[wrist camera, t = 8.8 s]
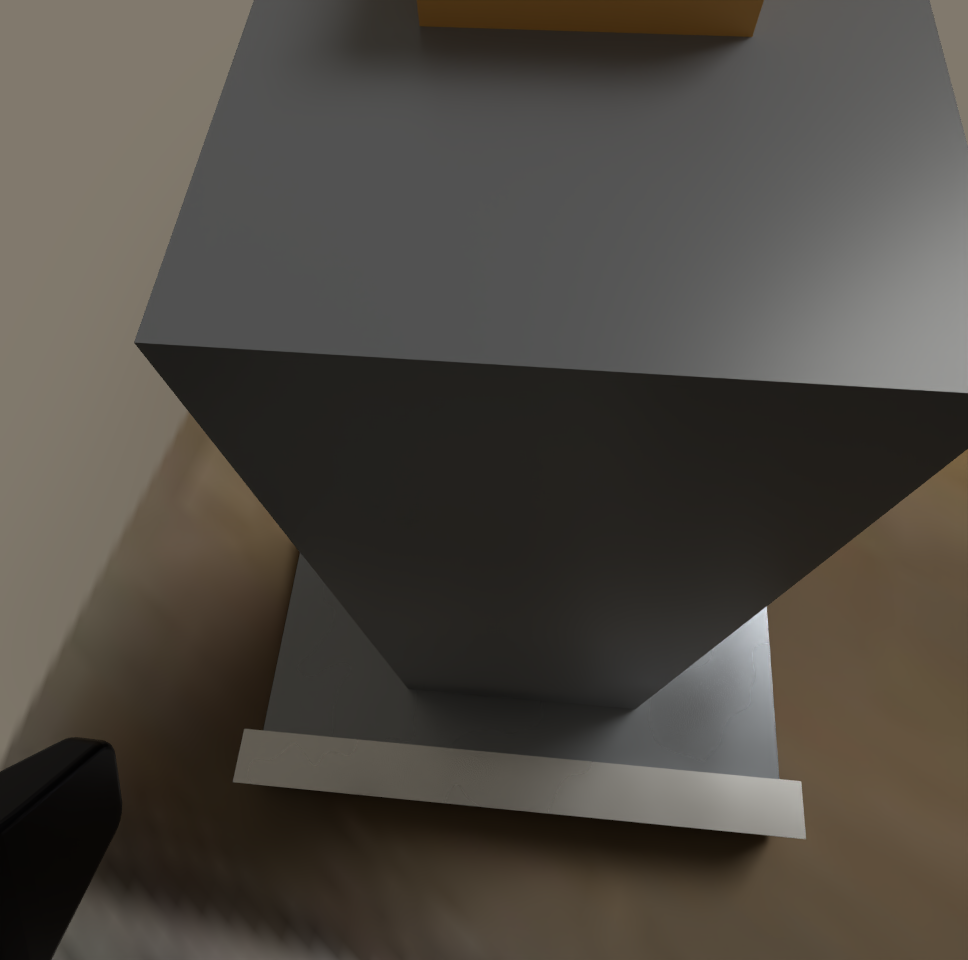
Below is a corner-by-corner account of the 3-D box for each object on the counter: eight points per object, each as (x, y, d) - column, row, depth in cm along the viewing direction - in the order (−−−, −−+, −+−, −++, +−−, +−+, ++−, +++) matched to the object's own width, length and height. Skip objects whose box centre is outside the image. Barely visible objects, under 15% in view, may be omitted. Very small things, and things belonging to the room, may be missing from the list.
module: (635, 709, 16) (1195, 270, 3) (408, 688, 16) (30, 213, 3) (636, 498, 18) (967, -294, 5) (434, 483, 18) (266, -296, 5)
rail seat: (778, 836, 15) (805, 838, 13) (256, 784, 16) (232, 781, 14) (752, 465, 18) (771, 438, 17) (327, 436, 19) (314, 407, 18)
